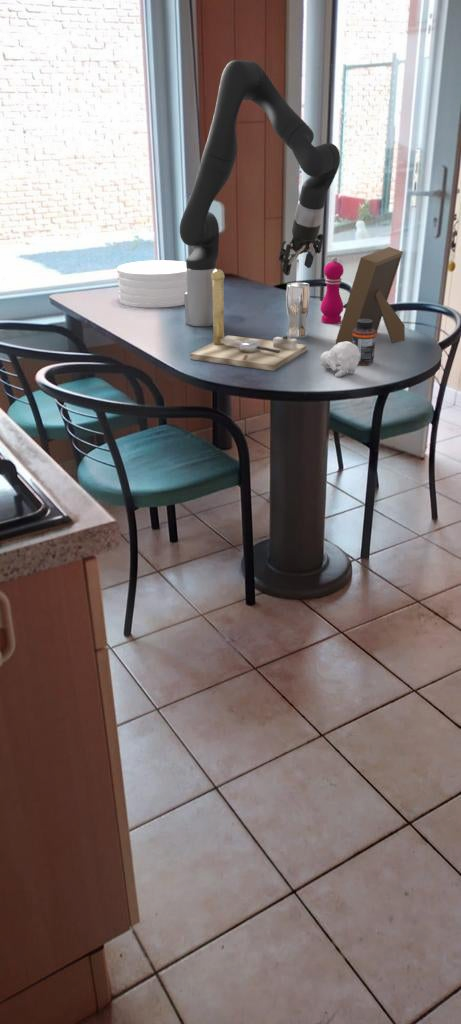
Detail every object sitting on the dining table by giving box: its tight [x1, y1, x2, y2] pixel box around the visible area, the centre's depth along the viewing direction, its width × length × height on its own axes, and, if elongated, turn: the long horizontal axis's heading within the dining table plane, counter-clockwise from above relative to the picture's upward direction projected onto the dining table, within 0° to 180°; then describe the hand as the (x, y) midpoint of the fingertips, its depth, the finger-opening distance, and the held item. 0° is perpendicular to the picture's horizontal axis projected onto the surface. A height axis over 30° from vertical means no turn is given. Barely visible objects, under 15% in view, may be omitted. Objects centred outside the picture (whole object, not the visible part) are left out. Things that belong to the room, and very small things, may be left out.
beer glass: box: [285, 281, 311, 339], centre depth 229 cm, size 7×7×15 cm
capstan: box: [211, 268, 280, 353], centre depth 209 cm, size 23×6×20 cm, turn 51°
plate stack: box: [116, 260, 187, 309], centre depth 279 cm, size 28×28×12 cm
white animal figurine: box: [319, 341, 361, 378], centre depth 197 cm, size 6×8×12 cm
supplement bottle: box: [352, 319, 377, 366], centre depth 204 cm, size 6×6×11 cm
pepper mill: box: [320, 256, 344, 325], centre depth 243 cm, size 7×7×20 cm
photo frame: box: [335, 246, 406, 345], centre depth 220 cm, size 15×22×25 cm
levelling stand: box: [189, 335, 308, 372], centre depth 213 cm, size 25×22×5 cm
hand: (296, 270), depth 227 cm, fingers open, 8 cm apart
